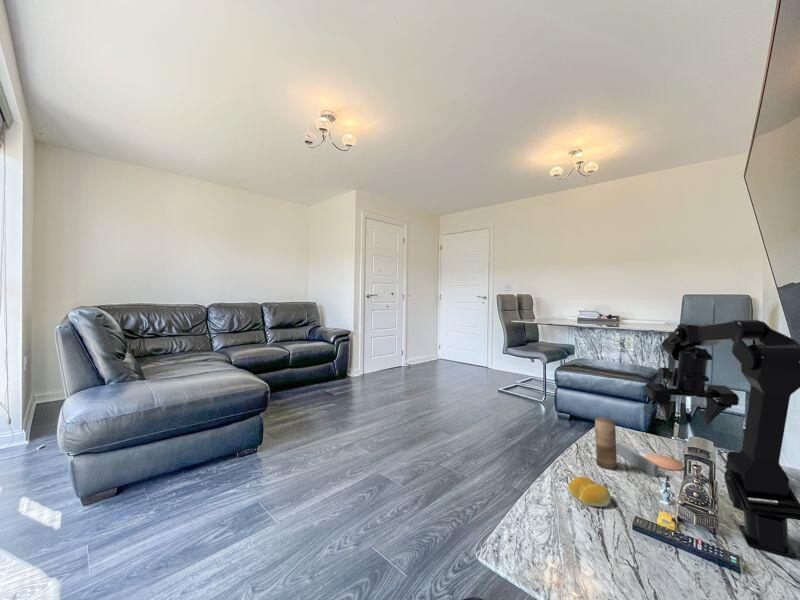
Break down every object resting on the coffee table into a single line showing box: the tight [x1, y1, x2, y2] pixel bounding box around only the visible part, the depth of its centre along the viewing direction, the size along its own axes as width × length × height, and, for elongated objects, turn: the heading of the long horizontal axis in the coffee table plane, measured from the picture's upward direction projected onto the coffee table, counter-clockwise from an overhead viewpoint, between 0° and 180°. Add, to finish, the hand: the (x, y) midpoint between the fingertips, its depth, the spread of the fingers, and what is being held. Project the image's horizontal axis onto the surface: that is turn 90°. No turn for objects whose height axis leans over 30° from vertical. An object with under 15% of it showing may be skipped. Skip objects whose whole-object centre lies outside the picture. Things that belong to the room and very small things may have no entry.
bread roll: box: [568, 476, 612, 508], centre depth 81 cm, size 8×9×4 cm
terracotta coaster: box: [644, 454, 684, 472], centre depth 96 cm, size 9×9×1 cm
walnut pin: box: [594, 417, 618, 471], centre depth 96 cm, size 5×5×13 cm
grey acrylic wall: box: [616, 443, 659, 478], centre depth 96 cm, size 14×1×3 cm, turn 4°
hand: (686, 421), depth 90 cm, fingers open, 9 cm apart
